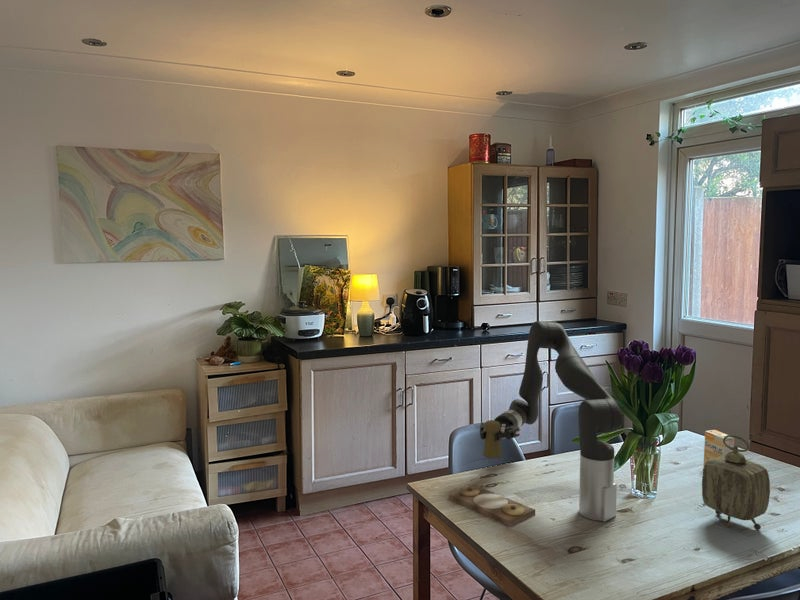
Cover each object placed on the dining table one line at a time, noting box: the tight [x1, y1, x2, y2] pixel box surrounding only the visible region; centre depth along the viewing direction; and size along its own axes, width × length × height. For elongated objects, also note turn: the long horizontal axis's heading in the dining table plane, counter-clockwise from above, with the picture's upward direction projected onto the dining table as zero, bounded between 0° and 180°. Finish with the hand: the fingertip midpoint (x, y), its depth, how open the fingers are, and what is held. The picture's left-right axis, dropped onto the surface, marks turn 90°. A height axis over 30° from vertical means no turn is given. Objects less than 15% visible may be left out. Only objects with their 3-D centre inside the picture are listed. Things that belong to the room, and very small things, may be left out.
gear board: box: [448, 484, 536, 527], centre depth 175 cm, size 24×11×3 cm, turn 40°
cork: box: [482, 419, 503, 459], centre depth 189 cm, size 6×6×11 cm
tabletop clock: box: [701, 434, 771, 531], centre depth 162 cm, size 14×9×25 cm, turn 32°
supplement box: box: [702, 429, 735, 468], centre depth 201 cm, size 8×5×13 cm, turn 17°
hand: (489, 437), depth 187 cm, fingers closed on cork, 4 cm apart
